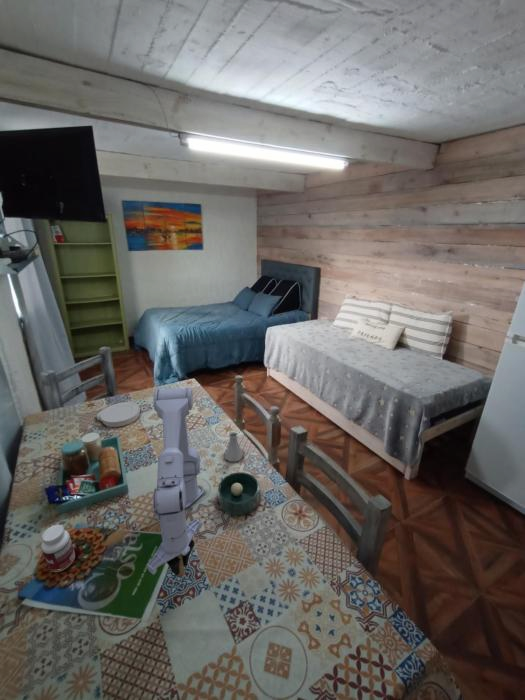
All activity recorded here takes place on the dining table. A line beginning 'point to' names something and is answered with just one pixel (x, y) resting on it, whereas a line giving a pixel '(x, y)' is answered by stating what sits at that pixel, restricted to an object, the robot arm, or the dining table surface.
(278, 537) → the dining table surface
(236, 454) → the flask
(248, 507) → the bowl
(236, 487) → the ball
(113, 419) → the lid
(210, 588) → the dining table surface
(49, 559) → the pill bottle
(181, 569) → the stick
